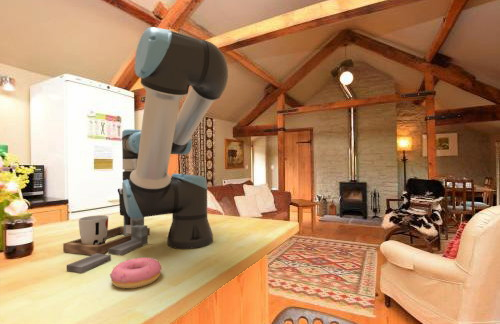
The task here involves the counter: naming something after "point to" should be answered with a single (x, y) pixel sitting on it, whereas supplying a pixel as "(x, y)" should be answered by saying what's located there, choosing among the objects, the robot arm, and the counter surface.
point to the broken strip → (112, 251)
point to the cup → (93, 229)
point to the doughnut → (135, 272)
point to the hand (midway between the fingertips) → (134, 231)
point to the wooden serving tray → (90, 249)
